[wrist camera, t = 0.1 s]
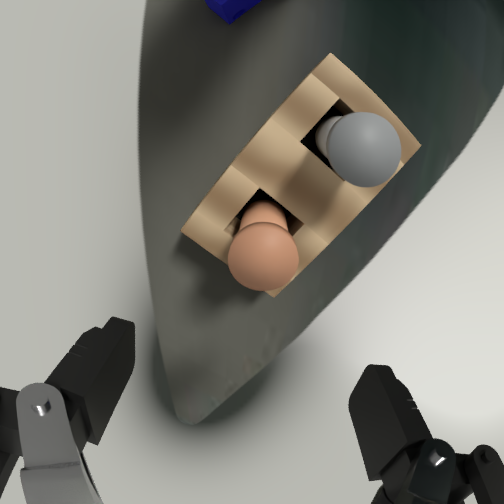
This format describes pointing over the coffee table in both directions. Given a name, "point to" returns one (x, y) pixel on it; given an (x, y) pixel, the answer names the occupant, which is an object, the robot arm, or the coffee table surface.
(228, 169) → the oak board
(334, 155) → the grey plunger
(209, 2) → the cable clip
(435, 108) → the coffee table surface
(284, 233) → the terracotta plunger
